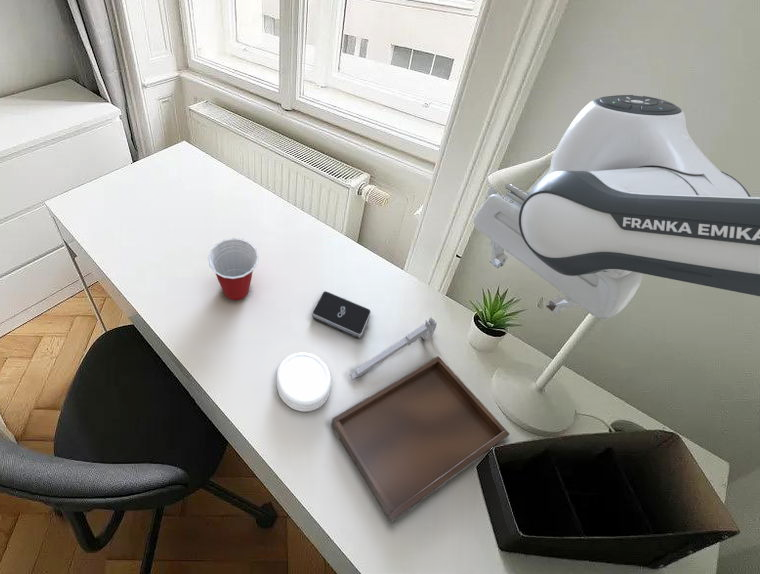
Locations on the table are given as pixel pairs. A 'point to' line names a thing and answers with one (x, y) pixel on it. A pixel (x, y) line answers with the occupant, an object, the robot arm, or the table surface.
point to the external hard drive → (341, 314)
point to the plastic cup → (233, 266)
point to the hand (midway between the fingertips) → (523, 285)
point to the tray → (417, 435)
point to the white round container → (303, 381)
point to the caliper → (397, 347)
